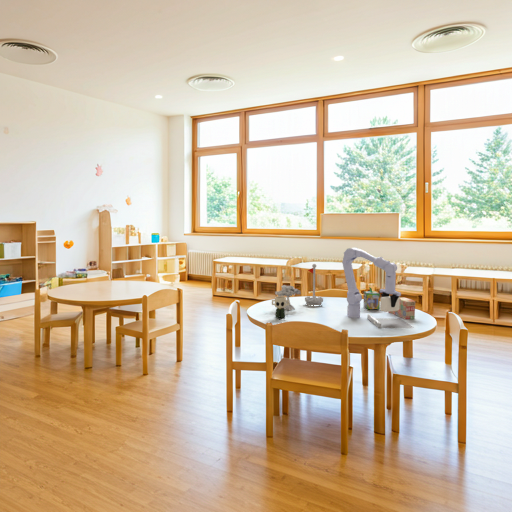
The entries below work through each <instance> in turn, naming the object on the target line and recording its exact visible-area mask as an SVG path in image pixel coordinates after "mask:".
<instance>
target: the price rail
mask: <svg viewBox="0 0 512 512" xmlns="http://www.w3.org/2000/svg"><path fill="white" fill-rule="evenodd" d="M366 318H367V320H369V322H371V323H372V324H373V325H374V324H375V325H374V326H376V328H378V329H382V328H381V323H380V322H379V321H378V320H376V319H375V317H374V316H372V314H370V313H369V314H367V317H366Z"/></svg>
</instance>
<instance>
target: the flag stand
mask: <svg viewBox="0 0 512 512" xmlns="http://www.w3.org/2000/svg"><path fill="white" fill-rule="evenodd" d="M316 268H317V264H316V263H313V264H312V268H310V269H308V270H307V272H309V273H311V274H312V297H311V296H309V295H308V296H305V297H304V302H305V304H307V305H313V306H312V307H315V306H314V305H321V304H322V303H323V302H324V297H322V296H318V297H317V296H316ZM307 305H306V306H307ZM321 306H322V305H321Z"/></svg>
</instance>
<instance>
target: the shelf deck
mask: <svg viewBox="0 0 512 512" xmlns="http://www.w3.org/2000/svg"><path fill="white" fill-rule="evenodd" d="M374 318H375V317H374ZM375 319H376V320H378V321H379V322H380V323H381V328H380V329H413V328H414V326H412V325H410V324H409V323H407V322H406V321H404V320H403V318H401V317H400V318H396V317H395V318H394V317H393V318H384V317H383V318H377V317H376V318H375ZM373 325H374V326H376V325H375V324H373Z"/></svg>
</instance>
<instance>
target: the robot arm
mask: <svg viewBox="0 0 512 512" xmlns="http://www.w3.org/2000/svg"><path fill="white" fill-rule="evenodd" d="M357 258H363V259H365V260H367V261H368V262H371V263H373V265H374V266H375V267H377V268H379V269H381V270H383V271H384V272H385V280H384V281H385V283H384V284H385V285H384V288H380V289H379V293H380V297H386V296H390V298H391V307H395V304H396V302H397V299H398V298H399V297H401V296H402V292H400V291H396V281H397V280H396V277H397V276H396V273H397V270H398V265H397V264H396V263H395V262H391V261H390V260H387V259H384V257H383V256H377V257H376V256H375V255H372V254H370V253H368V252H367V251H365V250H363V249H362V248H358V247H349V248H346V249H345V251H344V252H343V257H342V267H343V271H344V276H345V277H344V278H345V281H346V287H347V291H346V292H347V293H346V294H347V297H346V301H347V304H348V305H347V313H346V314H347V316H348V318H351V319H359V318H361V301H362V299H363V297H362V294H361V293H360V289H358V288H357V287H358V286H357V284H356V283H357V281H356V278H355V274H354V270H353V269H354V268H353V264H352V263H353V262H354V260H356V259H357Z"/></svg>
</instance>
